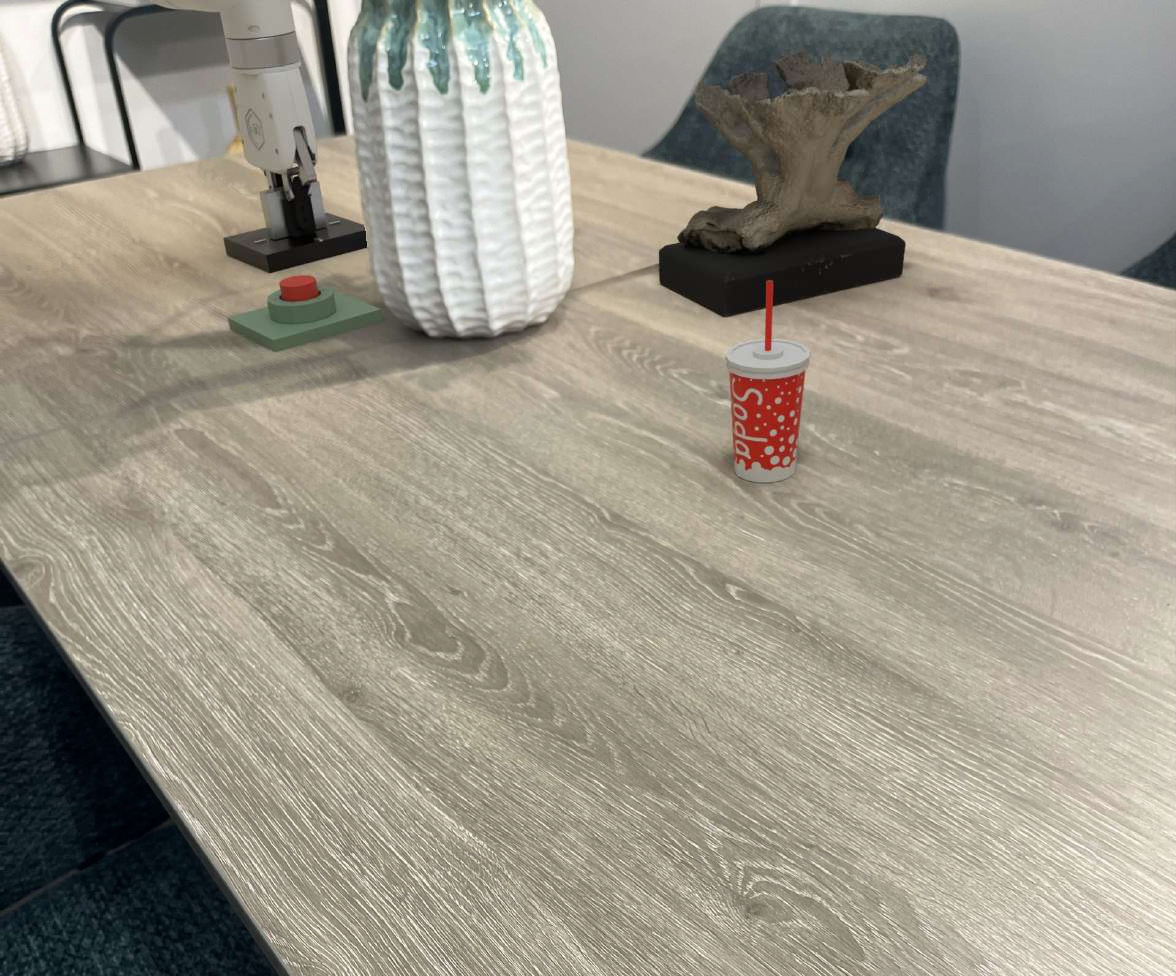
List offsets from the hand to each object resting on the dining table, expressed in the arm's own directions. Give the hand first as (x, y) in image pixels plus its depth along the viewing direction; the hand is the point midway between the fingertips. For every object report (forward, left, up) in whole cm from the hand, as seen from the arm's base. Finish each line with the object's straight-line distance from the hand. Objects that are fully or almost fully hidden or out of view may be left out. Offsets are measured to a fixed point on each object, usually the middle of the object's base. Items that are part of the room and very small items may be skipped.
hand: (297, 231), depth 149 cm
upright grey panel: (0, 0, 0) cm, 0 cm away
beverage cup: (-4, -81, -3) cm, 81 cm away
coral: (+31, -52, -3) cm, 61 cm away
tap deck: (0, 0, -3) cm, 3 cm away
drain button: (-13, -25, 0) cm, 28 cm away
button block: (-13, -25, -3) cm, 28 cm away
